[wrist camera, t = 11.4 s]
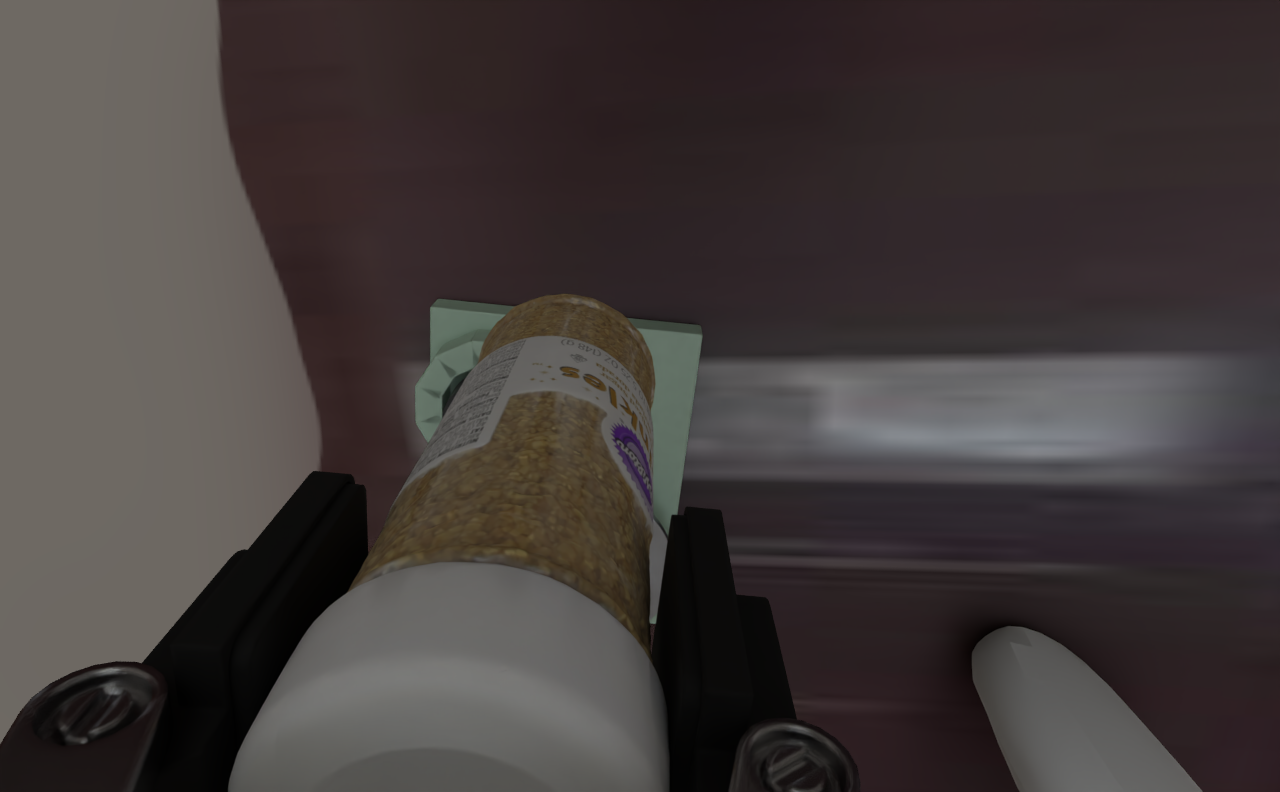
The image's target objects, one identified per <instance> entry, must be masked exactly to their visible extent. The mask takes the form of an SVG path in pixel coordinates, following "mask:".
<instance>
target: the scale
mask: <svg viewBox="0 0 1280 792" xmlns="http://www.w3.org/2000/svg"><path fill="white" fill-rule="evenodd" d="M513 307H515V306H506V305H496V304H486V303H476V302H466V301H456V300H446V299H437V300H436V302H435V303H434V304H433V305H432V306H431V308H430V364H429V366H428V367H427V369H426V370H425V372H424V373H423V375H422V376H421V378H420V379H419V381H418V382H417V384H416V387H415V421H416V424H417V426H418V428H419V429H420V431H421V432H422V434H423V436H424V437H425V439H426V441H427V442H428V443H429V441H430V439H431V438H432V436H433V434H434V432H435V431H436V429H437V427H438V425H439V424H440V422H441V420H442V415H443V410H444V407H445V405H446V403H447V401H448V399H449V398H450V396H451V394H452V392H453V391H454V389H455V387H456V386H457V385H458V383H459V382H460V381H462V380H463V379H464V378H466V377H467V375H468V374H469V373H470V372H471V371H472V369H473V368H474V367H475V366H476V365H477V364H478V360H479V356H480V352H481V348H482V346H483V343H484V341H485V339H486V337H487V336H488V334H489V332H490V331H491V330H492V328H493V327H494V326H495V324H496V323H497V322H498V321H499V320H501V319H502V318H503V317H504V316H505V315H506V314H507V313H508V312H509V311H510V310H511V309H512V308H513ZM627 319H628V320H629V321H630V322H631V323H632V324H633V326H634V327H635V328H636V329H637V330H639V331H640V333H641V334H642V335H643V337H644V340H645V342H646V344H647V346H648V348H649V350H650V352H651V355H652V359H653V366H654V372H655V383H656V385H655V392H654V400H653V404H652V408H651V417H652V423H653V436H654V446H653V514H654V515H655V516H656V518H657V519H658V520H659V521H660V523H661V524H662V526H663V528H664V529H665V531H666V533H667V535H668V534H669V527H670V520H671V516H672V514H673V515H677V513H678V506H679V499H680V492H681V485H682V478H683V471H684V464H685V457H686V450H687V443H688V436H689V429H690V422H691V415H692V408H693V401H694V394H695V387H696V380H697V373H698V366H699V359H700V352H701V345H702V338H703V334H702V330H701V326H700V325H693V324H683V323H673V322H663V321H653V320H643V319H634V318H627ZM656 618H657V613H656V615H655V616H654V617H653V618H652V619H651V620H650V623H653V624H656Z"/></svg>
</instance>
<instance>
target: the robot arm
mask: <svg viewBox="0 0 1280 792" xmlns="http://www.w3.org/2000/svg"><path fill="white" fill-rule="evenodd" d="M367 556H368V535H367V501H366V489H365V486H364V485H358V484H355V481H354V478H353V476H352V475H351V474H341V473H330V472H320V471H313V472H312V473H311V474H310V475H309V476H308V477H307V478H306V479H305V481H304V482H303V483H302V484H301V486H300V487H299V488H298V489H297V490H296V492H295V493H294V494H293V495H292V497H291V498H290V499H289V500H288V501H287V503H286V504H285V505H284V506H283V508H282V509H281V510H280V511H279V512H278V514H277V515H276V516H275V517H274V518H273V520H272V521H271V522H270V523H269V525H268V526H267V527H266V528H265V530H264V531H263V532H262V533H261V534H260V536H259V537H258V538H257V539H256V541H255V542H254V543H253V544H252V545H251V547H250V548H249V549H248V550H241V551H238V552H237V553H235V554H234V555H233V556H232V557H231V558H230V559H229V560H228V561H227V563H226V564H225V565H224V566H223V567H222V569H221V570H220V571H219V572H218V573H217V575H216V576H215V577H214V578H213V580H212V581H211V582H210V583H209V584H208V585H207V587H206V588H205V589H204V590H203V591H202V592H201V594H200V595H199V596H198V597H197V598H196V600H195V601H194V602H193V603H192V605H191V606H190V607H189V608H188V609H187V610H186V611H185V613H184V614H183V615H182V616H181V617H180V619H179V620H178V621H177V622H176V623H175V625H174V626H173V627H172V628H171V629H170V630H169V632H168V633H167V634H166V635H165V636H164V638H163V639H162V640H161V641H160V642H159V644H158V645H157V646H156V647H155V648H154V649H153V651H152V652H151V653H150V654H149V655H148V657H147V658H146V659H145V660H144V661H143V663H138V662H117V661H116V662H111V663H104V664H98V665H93V666H90V667H87V668H84V669H81V670H78V671H75V672H72V673H70V674H68V675H66V676H64V677H62V678H60V679H58V680H56V681H55V682H52V683H50V684H49V685H48V686H46V687H45V688H44V689H42V690H41V691H40V692H39V693H37V694H36V695H35V696H33V697H32V699H30V701H29V702H28V703H27V704H26V705H25V707H24V708H23V709H22V710H21V711H20V713H19V714H18V716H17V718H16V720H15V721H14V723H13V724H12V726H11V728H10V729H9V731H8V732H7V734H6V736H5V737H4V739H3V741H2V742H1V744H0V792H228V785H229V779H230V775H231V772H232V769H233V766H234V763H235V759H236V756H237V753H238V751H239V749H240V747H241V745H242V743H243V741H244V739H245V737H246V735H247V733H248V731H249V729H250V728H251V726H252V724H253V722H254V720H255V718H256V717H257V715H258V713H259V711H260V709H261V707H262V705H263V704H264V702H265V700H266V698H267V697H268V695H269V693H270V691H271V690H272V688H273V686H274V685H275V683H276V681H277V679H278V678H279V676H280V674H281V672H282V671H283V669H284V667H285V665H286V664H287V662H288V660H289V658H290V657H291V655H292V654H293V652H294V650H295V649H296V647H297V645H298V644H299V642H300V641H301V639H302V637H303V636H304V634H305V633H306V631H307V630H308V629H309V627H310V626H311V625H312V624H313V622H314V621H315V620H316V619H317V618H318V617H319V616H320V615H321V614H322V613H323V612H324V611H325V610H326V609H327V608H328V607H329V606H330V605H331V604H333V603H334V602H335V601H337V600H338V599H339V598H340V597H342V596H343V595H345V594H346V593H347V592H348V590H349V588H350V586H351V584H352V582H353V580H354V579H355V577H356V576H357V574H358V573H359V571H360V570H361V567H362V565H363V563H364V561H365V560H366V558H367ZM651 658H652V664H653V666H654V668H655V670H656V672H657V674H658V677H659V680H660V682H661V685H662V688H663V692H664V696H665V701H666V705H667V711H668V723H669V751H670V787H669V792H860V778H859V773H858V768H857V765H856V764H855V762H854V760H853V758H852V757H851V755H850V753H849V751H848V750H847V749H846V748H845V747H844V746H843V745H842V744H841V743H840V742H839V741H838V740H837V739H836V738H835V737H833V736H832V735H830V734H829V733H827V732H826V731H824V730H823V729H821V728H820V727H817V726H815V725H812V724H809V723H807V722H804V721H802V720H797V718H796V714H795V709H794V705H793V701H792V697H791V692H790V688H789V684H788V680H787V675H786V671H785V667H784V662H783V658H782V654H781V650H780V645H779V641H778V637H777V633H776V628H775V624H774V620H773V615H772V611H771V607H770V604H769V601H768V599H767V598H765V597H755V596H745V595H736V591H735V586H734V580H733V574H732V569H731V563H730V557H729V551H728V546H727V540H726V534H725V528H724V523H723V517H722V512H721V510H716V509H706V508H696V507H686V508H685V511H684V516H683V515H673V514H672V516H671V520H670V527H669V534H668V541H667V548H666V555H665V562H664V569H663V576H662V583H661V590H660V597H659V604H658V611H657V618H656V625H655V632H654V639H653V646H652V654H651Z"/></svg>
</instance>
